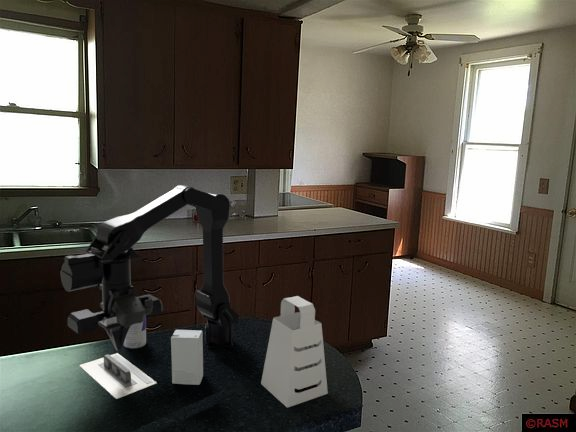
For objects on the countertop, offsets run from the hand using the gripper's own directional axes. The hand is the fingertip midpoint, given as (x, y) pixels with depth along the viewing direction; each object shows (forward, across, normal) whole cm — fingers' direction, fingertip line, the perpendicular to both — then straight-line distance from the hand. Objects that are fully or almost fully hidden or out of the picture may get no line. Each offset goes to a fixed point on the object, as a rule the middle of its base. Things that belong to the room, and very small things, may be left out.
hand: (118, 349), depth 101 cm
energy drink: (+7, +10, +11) cm, 16 cm away
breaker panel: (+7, 0, 0) cm, 7 cm away
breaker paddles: (+5, 0, 0) cm, 5 cm away
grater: (+7, +26, -28) cm, 39 cm away
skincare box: (+7, +10, -12) cm, 17 cm away
